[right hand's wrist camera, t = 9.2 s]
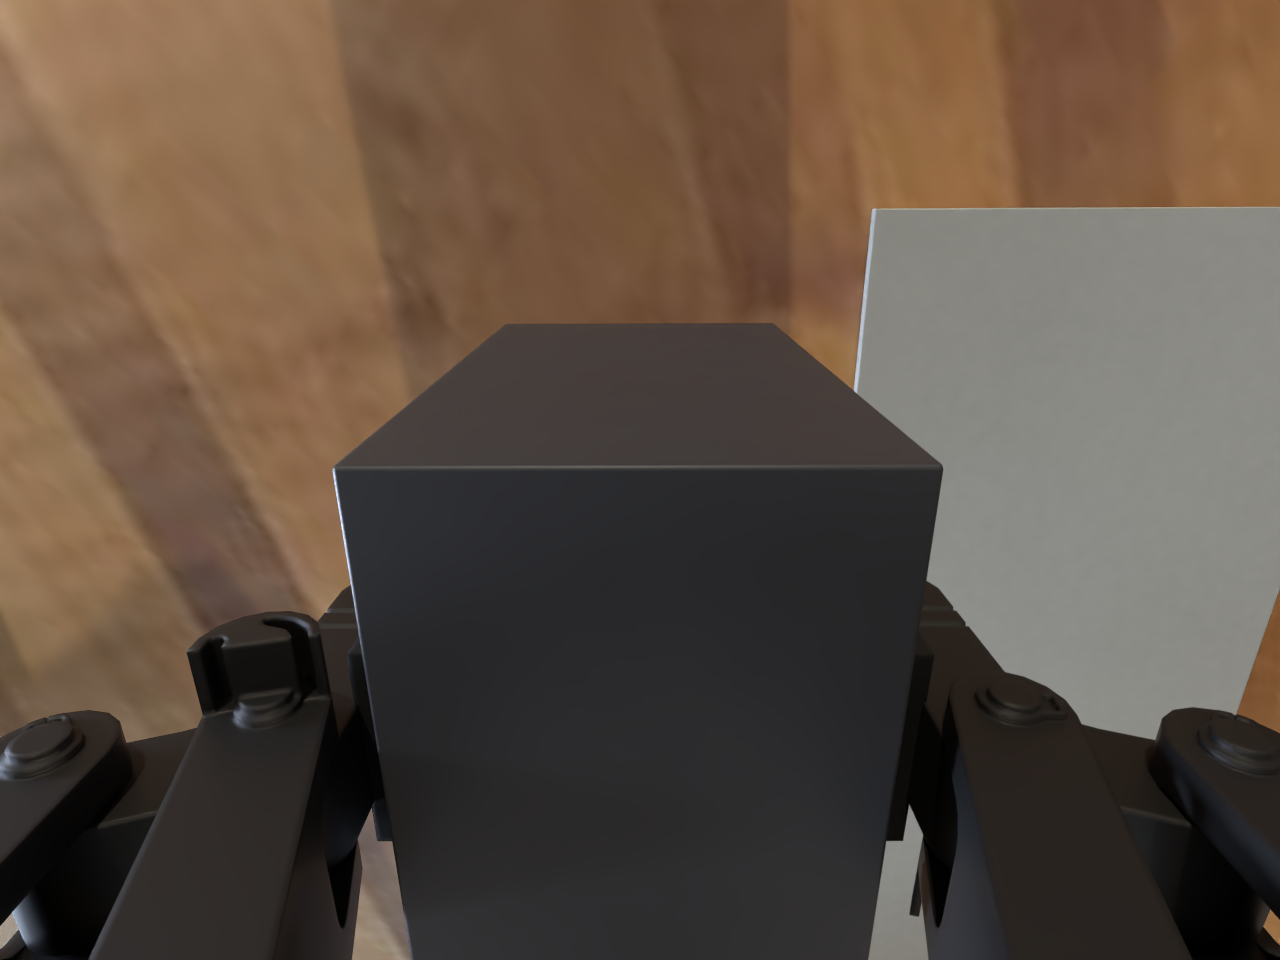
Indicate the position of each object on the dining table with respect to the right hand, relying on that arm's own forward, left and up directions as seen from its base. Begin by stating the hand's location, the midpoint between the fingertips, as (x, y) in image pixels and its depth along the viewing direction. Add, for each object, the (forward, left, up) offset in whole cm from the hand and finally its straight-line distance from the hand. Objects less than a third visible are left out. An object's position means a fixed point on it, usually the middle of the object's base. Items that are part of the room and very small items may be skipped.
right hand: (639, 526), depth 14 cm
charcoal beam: (0, -12, 0) cm, 12 cm away
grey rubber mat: (+17, -12, -13) cm, 24 cm away
